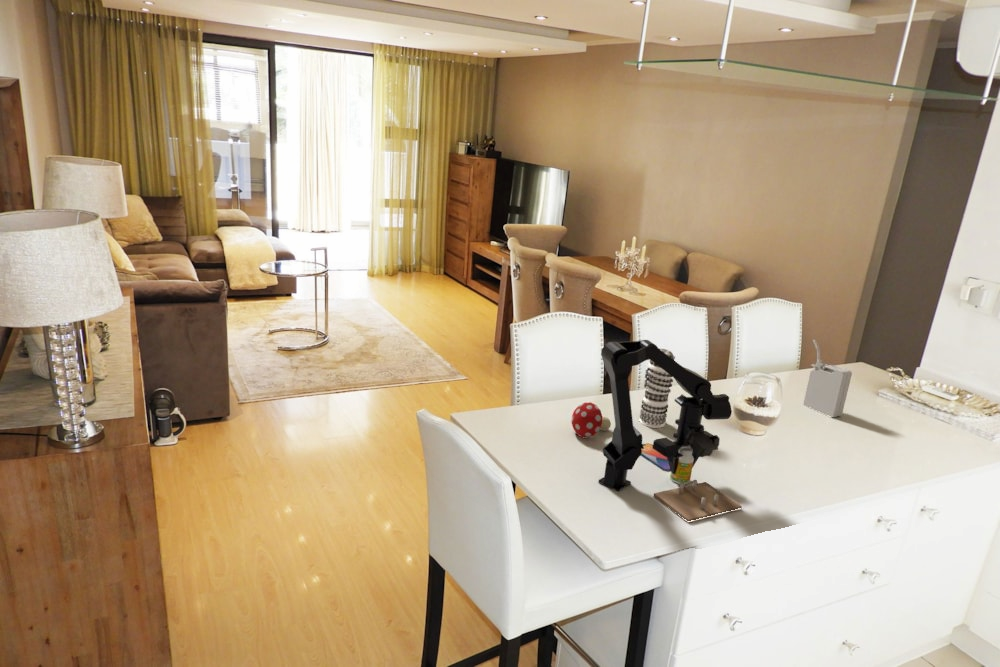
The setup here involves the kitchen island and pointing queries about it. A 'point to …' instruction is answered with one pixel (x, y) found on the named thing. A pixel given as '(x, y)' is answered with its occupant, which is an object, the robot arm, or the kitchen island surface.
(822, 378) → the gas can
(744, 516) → the kitchen island surface
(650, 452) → the smartphone
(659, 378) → the decorative candle
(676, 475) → the supplement bottle
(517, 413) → the kitchen island surface
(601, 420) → the decorative mushroom
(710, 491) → the pin tray
